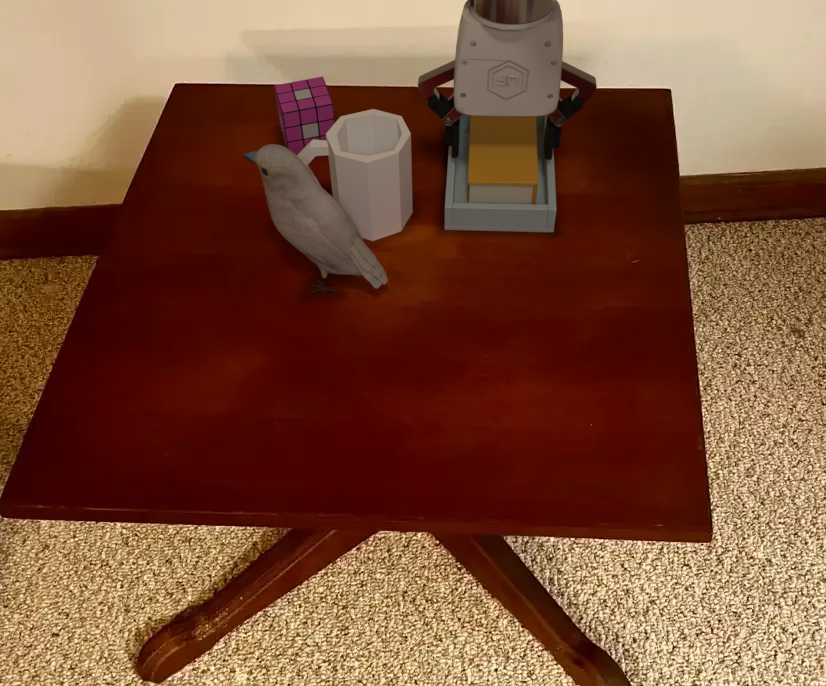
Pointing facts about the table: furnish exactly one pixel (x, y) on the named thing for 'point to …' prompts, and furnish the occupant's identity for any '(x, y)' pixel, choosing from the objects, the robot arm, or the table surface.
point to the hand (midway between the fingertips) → (501, 150)
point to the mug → (369, 170)
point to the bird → (313, 218)
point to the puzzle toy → (304, 112)
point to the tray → (499, 215)
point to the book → (502, 160)
